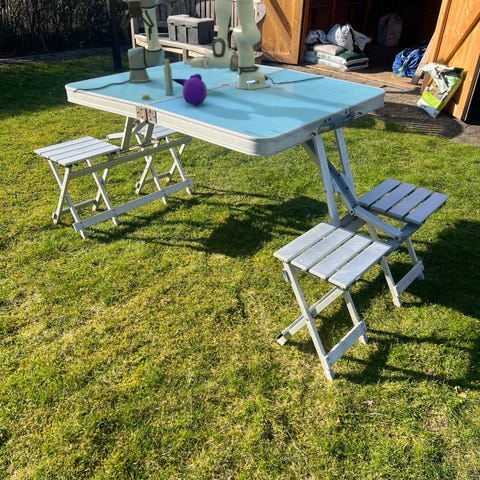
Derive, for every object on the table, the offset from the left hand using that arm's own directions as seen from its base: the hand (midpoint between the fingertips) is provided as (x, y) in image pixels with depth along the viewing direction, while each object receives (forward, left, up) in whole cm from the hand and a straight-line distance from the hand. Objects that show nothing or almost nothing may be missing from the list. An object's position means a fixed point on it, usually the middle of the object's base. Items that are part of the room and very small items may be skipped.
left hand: (138, 40), depth 272 cm
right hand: (+28, +1, -14) cm, 31 cm away
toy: (+25, -23, -35) cm, 49 cm away
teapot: (+82, +72, -35) cm, 115 cm away
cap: (0, 0, -33) cm, 33 cm away
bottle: (+17, +6, -35) cm, 39 cm away
